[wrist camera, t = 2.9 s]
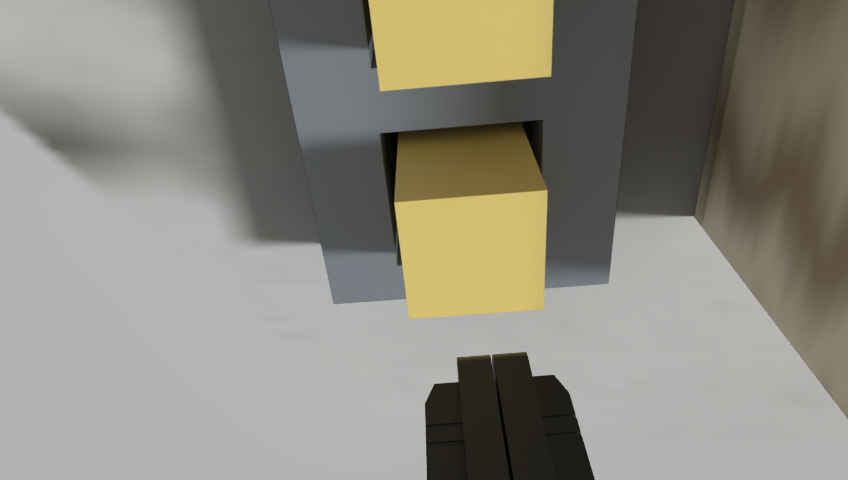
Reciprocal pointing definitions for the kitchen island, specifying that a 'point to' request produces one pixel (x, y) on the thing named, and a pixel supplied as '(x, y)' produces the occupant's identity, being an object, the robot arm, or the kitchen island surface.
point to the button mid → (460, 41)
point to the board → (454, 107)
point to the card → (786, 173)
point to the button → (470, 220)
